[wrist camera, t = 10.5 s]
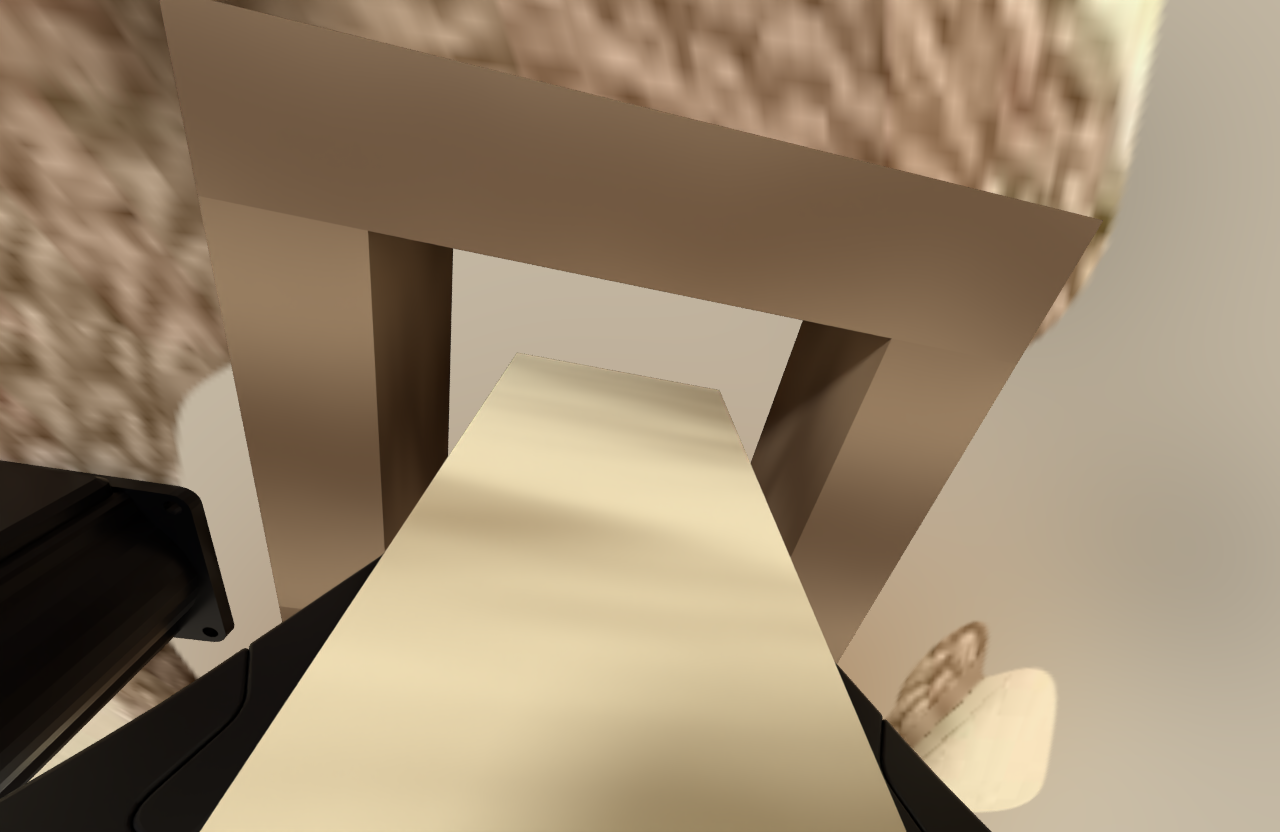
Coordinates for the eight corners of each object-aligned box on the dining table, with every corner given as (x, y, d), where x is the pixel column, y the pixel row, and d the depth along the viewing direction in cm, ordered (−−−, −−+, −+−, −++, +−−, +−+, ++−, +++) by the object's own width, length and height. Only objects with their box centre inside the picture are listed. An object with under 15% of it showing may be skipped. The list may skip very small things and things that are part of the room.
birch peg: (672, 542, 12) (778, 1465, 3) (501, 517, 12) (119, 1513, 3) (719, 390, 10) (1241, 1618, 2) (517, 352, 10) (-459, 1827, 1)
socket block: (764, 614, 17) (798, 727, 14) (369, 561, 16) (292, 672, 12) (951, 207, 11) (1103, 220, 8) (332, 58, 10) (156, -14, 6)
